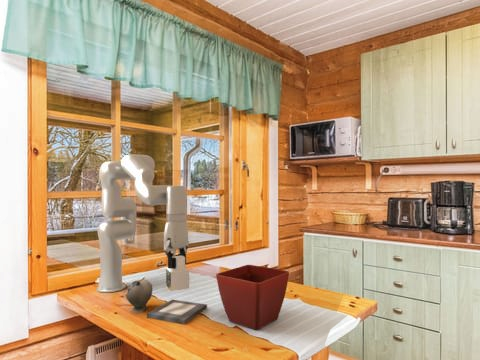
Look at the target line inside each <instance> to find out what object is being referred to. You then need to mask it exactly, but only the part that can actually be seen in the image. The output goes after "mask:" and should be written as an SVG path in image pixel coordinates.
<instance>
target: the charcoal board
mask: <svg viewBox="0 0 480 360" xmlns="http://www.w3.org/2000/svg"><path fill="white" fill-rule="evenodd" d="M206 308H208V304H204V303H199V302H192V301H184V300H178V299H170V300H168V301H167V302H165V303H163V304H161V305H159V306H158V307H156V308H154V309H152V310H150V311H149V312H147V313H146V318H147V319H153V320H159V321H165V322H170V323H176V324H181V325H186V324H187V323H188V322H189V321H191V320H193V319H194V318H196V316H198V315H200V314H201V313H202V312H203V310H204V311H205V310H207V309H206Z"/></svg>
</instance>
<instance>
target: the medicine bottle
mask: <svg viewBox="0 0 480 360" xmlns="http://www.w3.org/2000/svg"><path fill="white" fill-rule="evenodd" d="M175 258H176V268H175V269H171V268H168V266H167V267H166V268H165V278H166V279H165V283H166V285H165V286H166V287H167V289H168V290H169V291H170V292H173V291H181V290H187V289H189V288H190V269H189V268H188V267H186V264H185V256H184V255H178V254H175Z"/></svg>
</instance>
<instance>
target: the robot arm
mask: <svg viewBox="0 0 480 360" xmlns="http://www.w3.org/2000/svg"><path fill="white" fill-rule="evenodd" d="M155 167H156V163H155V160H154V158H152V156H150V155H147V154H137V153H136V154H133V153H130V154H125V155H124V156H123V157H122V158H121V160H109V161H105V162H103V163H102V164H101V166H100V167H99V174H98V175H99V180H100V184H101V185H100V186H101V213H102V215H103V217H104V218H107V219H114V220H106V221H103V222H101V223H99V225H98V227H97V236H98V241H99V242H98V243H99V256H100V257H99V258H100V262H99V264H100V265H99V266H100V268H99V269H100V271H99V272H100V273H99V275H100V276H99V277H98V278H97V279H96V280H95V281H94V282H95V284H98V286H97V287H96V291H97V292H99V293H113V292H118V291H121V290H124V289H125V288H126V287H127V286H126V283H125V282H123V251H122V250H123V249H122V247H121V246H120V244H119V242H118V241H121V240H129V239H133V237H134V236H135V235H136V232H137V204H136V201H135V199H134V198H132V197H131V196H130V197H129V196H122V186H121V185H120V183H119V180H121V181H124V180H125V181H127V180H128V181H134V183H133V185H134V191H135V195H136V197H138V198H139V200H141V202H143V203H144V204H146V205H148V206H158V205H166V207H165V208H166V211H165V212H166V215H165V216H166V220H165V221H166V222H165V226H164V233H163V252H164V254H165V256H166V258H167V267H168V268H171V269H175V268H176V258H175V255H176V252H177V250H178V254H177V255H184V256H185V265H187V254H188V248H189V245H190V241H189V233H188V232H189V230H188V224H187V223H188V221H187V220H188V219H187V217H188V214H187V213H188V212H187V211H188V210H187V187H185V186H184V185H171V184H170V185H169V184H168V185H167V184H166V185H163V184H161V185H160V184H159V185H158V184H157V185H151V183H152V182H153V180H154V179H155ZM115 218H122V219H116V220H115Z"/></svg>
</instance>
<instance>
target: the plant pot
mask: <svg viewBox="0 0 480 360" xmlns="http://www.w3.org/2000/svg"><path fill="white" fill-rule="evenodd" d="M289 274H290V271H288V270H284V269H283V270H282V269H279V268H278V269H277V268H272V267H266V266H259V265H254V264H246V265H242V266H239V267H235V268H232V269H229V270H226V271H222V272H218V273H216V275H215V276H216V282H217V288H218V291H219V295H220V299H221V303H222V306H223V309H224V311H225V314H226V317H227V319H228V321H229V322H230V323H234V324H237V325H239V326H243V327H244V328H245V327H246V328H249V329H252V330H260V329H262V328H264V327H266V326H267V325H269V324H271V323H273V322H274V321H276V320H278V318H279V316H280V313H281V310H282V306H283V304H284V300H285V296H286V291H287V287H288V281H289V276H290V275H289Z"/></svg>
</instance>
